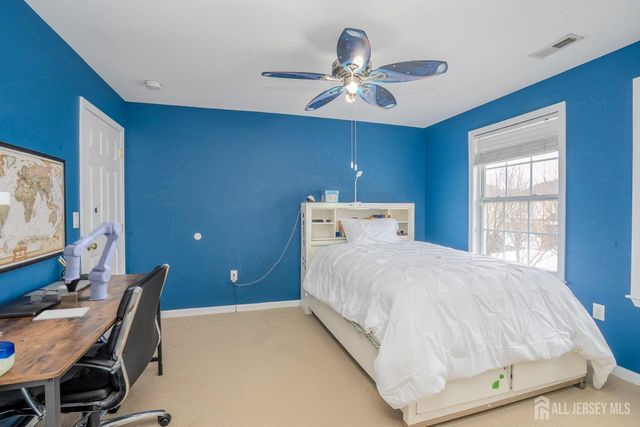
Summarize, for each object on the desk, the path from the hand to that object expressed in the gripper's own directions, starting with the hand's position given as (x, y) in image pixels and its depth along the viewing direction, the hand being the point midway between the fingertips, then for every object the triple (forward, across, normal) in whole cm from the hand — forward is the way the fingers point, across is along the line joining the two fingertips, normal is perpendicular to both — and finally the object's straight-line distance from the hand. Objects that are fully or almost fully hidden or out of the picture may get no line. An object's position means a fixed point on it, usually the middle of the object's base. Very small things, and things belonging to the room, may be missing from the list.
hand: (71, 294), depth 158 cm
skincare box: (+7, -14, -6) cm, 17 cm away
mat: (+6, +12, 0) cm, 14 cm away
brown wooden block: (+6, +4, 0) cm, 7 cm away
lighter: (+7, -10, -16) cm, 20 cm away
